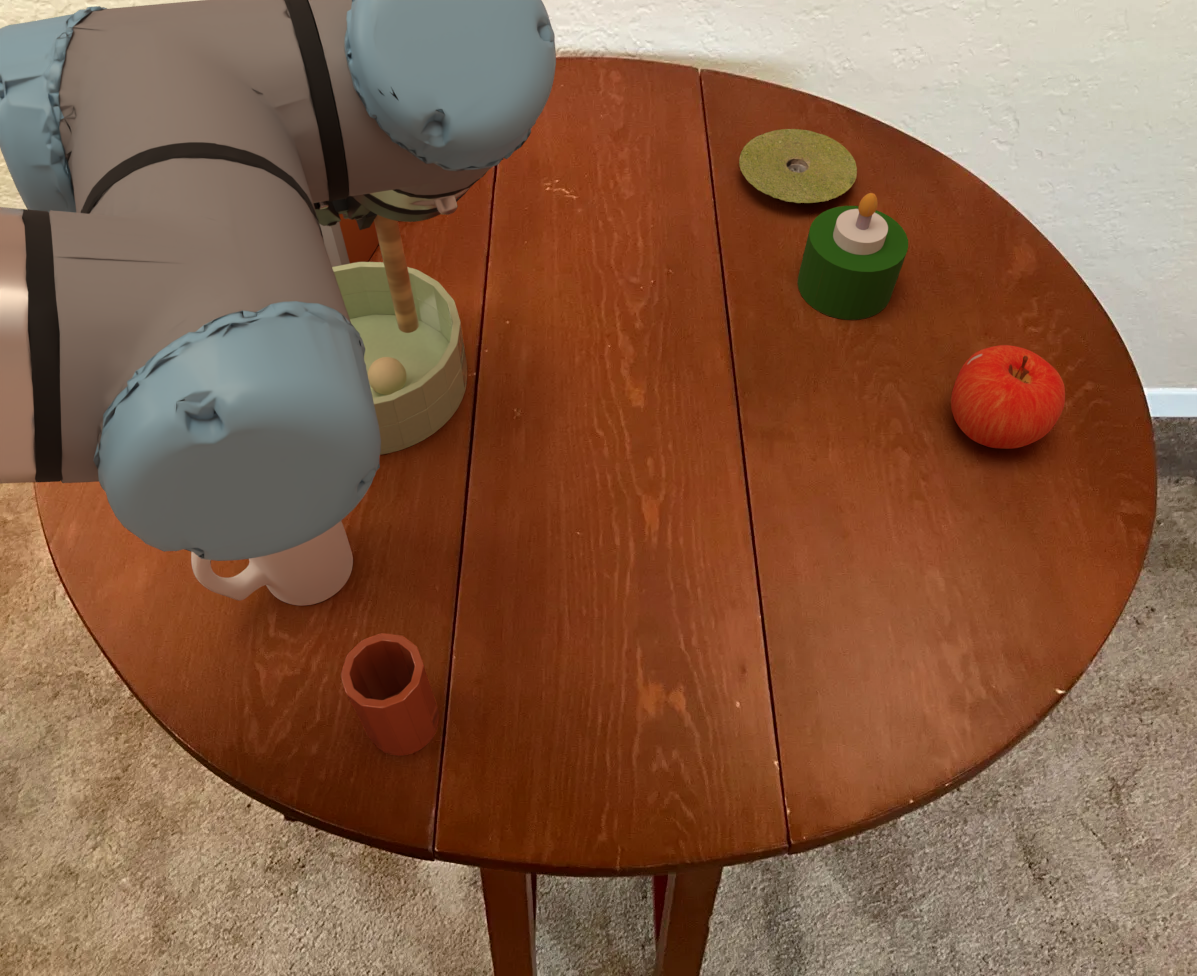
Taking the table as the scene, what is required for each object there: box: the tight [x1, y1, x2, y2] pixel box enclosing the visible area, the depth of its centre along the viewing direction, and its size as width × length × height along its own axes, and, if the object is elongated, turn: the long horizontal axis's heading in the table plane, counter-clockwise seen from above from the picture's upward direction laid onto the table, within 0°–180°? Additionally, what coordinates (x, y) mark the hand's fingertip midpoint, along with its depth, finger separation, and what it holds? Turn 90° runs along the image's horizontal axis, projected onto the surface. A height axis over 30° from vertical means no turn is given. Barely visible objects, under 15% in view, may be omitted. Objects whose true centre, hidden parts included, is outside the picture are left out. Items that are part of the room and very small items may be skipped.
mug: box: [190, 520, 354, 607], centre depth 63 cm, size 10×7×12 cm, turn 138°
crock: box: [340, 632, 440, 757], centre depth 59 cm, size 5×5×8 cm
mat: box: [738, 128, 858, 204], centre depth 93 cm, size 11×11×2 cm
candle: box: [796, 192, 909, 321], centre depth 82 cm, size 8×8×10 cm
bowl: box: [332, 261, 468, 456], centre depth 76 cm, size 15×15×6 cm
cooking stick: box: [374, 215, 419, 333], centre depth 68 cm, size 2×2×18 cm
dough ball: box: [368, 357, 406, 395], centre depth 76 cm, size 3×3×3 cm
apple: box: [950, 344, 1066, 450], centre depth 73 cm, size 8×8×8 cm
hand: (373, 206), depth 70 cm, fingers closed on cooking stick, 1 cm apart
